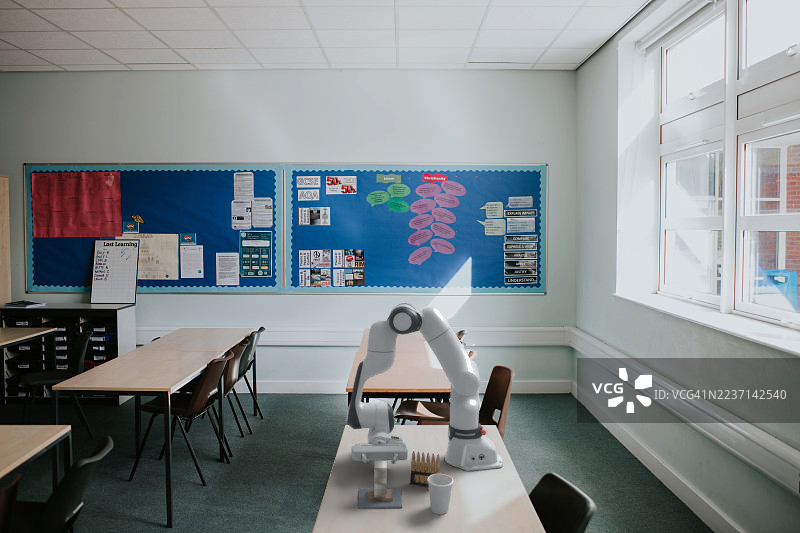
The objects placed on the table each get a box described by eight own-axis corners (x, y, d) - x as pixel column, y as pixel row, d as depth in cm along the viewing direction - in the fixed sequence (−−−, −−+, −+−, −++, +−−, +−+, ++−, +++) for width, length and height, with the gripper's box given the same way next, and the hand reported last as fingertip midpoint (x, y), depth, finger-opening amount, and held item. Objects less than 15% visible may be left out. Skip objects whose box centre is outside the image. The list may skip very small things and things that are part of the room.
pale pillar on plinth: (391, 492, 175) (392, 460, 174) (392, 501, 169) (393, 468, 168) (368, 492, 175) (368, 460, 174) (368, 501, 169) (368, 468, 168)
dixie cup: (434, 518, 161) (434, 487, 160) (422, 505, 168) (422, 475, 168) (457, 513, 164) (458, 482, 163) (444, 500, 172) (445, 471, 171)
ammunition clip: (409, 484, 182) (410, 451, 181) (410, 482, 184) (411, 449, 183) (439, 489, 180) (440, 455, 179) (440, 486, 181) (441, 453, 181)
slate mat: (400, 489, 178) (400, 488, 178) (402, 508, 166) (402, 506, 166) (359, 490, 177) (359, 488, 177) (358, 508, 166) (358, 506, 165)
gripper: (351, 437, 194) (350, 453, 181) (406, 437, 196) (408, 452, 182) (351, 454, 195) (350, 470, 181) (405, 453, 196) (408, 470, 182)
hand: (380, 461), depth 181 cm, fingers open, 8 cm apart
